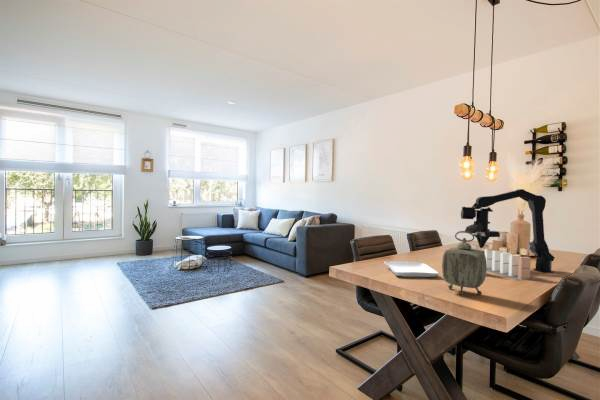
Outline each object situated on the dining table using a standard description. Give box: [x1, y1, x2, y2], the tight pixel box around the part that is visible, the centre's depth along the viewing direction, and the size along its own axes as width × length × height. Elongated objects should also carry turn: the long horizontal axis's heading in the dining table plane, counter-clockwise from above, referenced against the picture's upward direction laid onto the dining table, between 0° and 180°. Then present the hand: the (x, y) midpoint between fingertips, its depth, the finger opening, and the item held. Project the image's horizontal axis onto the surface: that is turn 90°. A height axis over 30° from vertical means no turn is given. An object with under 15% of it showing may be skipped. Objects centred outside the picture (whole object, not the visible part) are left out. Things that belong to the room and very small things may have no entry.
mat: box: [486, 268, 538, 281], centre depth 156 cm, size 12×26×1 cm, turn 12°
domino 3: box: [500, 252, 513, 273], centre depth 155 cm, size 5×2×10 cm, turn 102°
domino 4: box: [509, 254, 522, 276], centre depth 150 cm, size 5×2×10 cm, turn 103°
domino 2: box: [492, 250, 504, 271], centre depth 160 cm, size 5×2×10 cm, turn 102°
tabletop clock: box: [441, 230, 487, 296], centre depth 123 cm, size 14×9×25 cm, turn 48°
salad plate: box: [383, 261, 440, 278], centre depth 155 cm, size 21×21×3 cm
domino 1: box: [484, 248, 496, 269], centre depth 165 cm, size 5×2×10 cm, turn 102°
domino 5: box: [518, 256, 531, 279], centre depth 146 cm, size 5×2×10 cm, turn 103°
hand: (481, 247), depth 171 cm, fingers closed
